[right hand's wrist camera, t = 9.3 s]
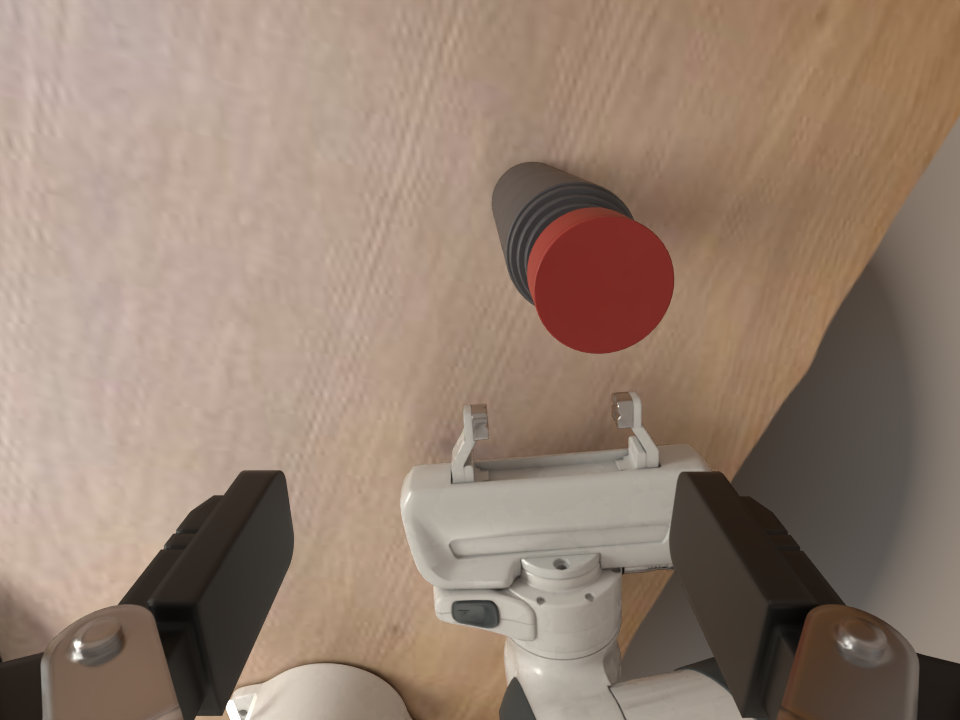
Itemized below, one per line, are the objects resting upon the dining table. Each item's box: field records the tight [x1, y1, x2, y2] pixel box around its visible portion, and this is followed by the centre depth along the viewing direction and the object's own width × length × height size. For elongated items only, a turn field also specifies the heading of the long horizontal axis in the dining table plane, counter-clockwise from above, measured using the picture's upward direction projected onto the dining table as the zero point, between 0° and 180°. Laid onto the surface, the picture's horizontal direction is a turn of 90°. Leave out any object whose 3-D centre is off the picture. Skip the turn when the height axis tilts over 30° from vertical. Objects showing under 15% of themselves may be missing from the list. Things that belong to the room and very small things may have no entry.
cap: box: [527, 207, 674, 354], centre depth 17 cm, size 4×4×2 cm
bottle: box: [492, 162, 634, 306], centre depth 27 cm, size 5×5×22 cm
